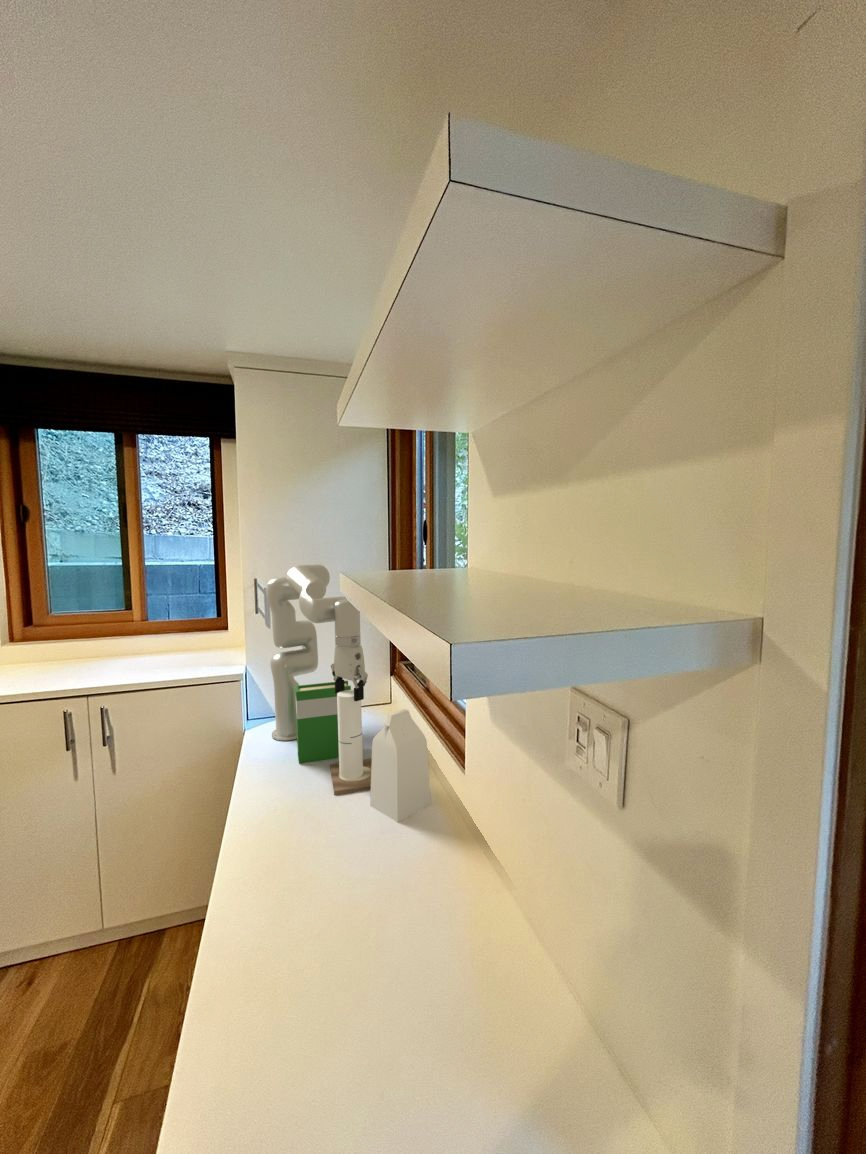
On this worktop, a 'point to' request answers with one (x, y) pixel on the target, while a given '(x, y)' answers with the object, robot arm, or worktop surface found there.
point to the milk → (399, 768)
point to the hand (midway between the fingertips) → (349, 696)
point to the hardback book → (317, 722)
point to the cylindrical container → (349, 735)
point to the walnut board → (354, 784)
